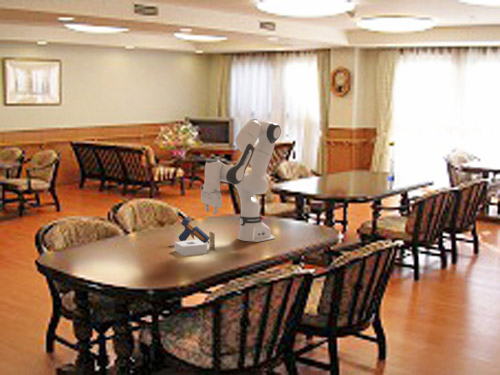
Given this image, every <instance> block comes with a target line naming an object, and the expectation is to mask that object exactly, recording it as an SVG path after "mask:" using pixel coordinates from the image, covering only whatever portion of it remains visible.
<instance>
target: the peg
mask: <svg viewBox="0 0 500 375" xmlns="http://www.w3.org/2000/svg"><path fill="white" fill-rule="evenodd" d="M208 233H209V234H208V235H209V240H208V241H209V243H208V244H209V246H208V248H209V249H208V250H209V251H216V250H215V249H216V248H215V245H216V243H215V241H216V240H215V238H216V237H215V236H216V231H209V232H208Z"/></svg>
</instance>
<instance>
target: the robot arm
mask: <svg viewBox="0 0 500 375" xmlns="http://www.w3.org/2000/svg"><path fill="white" fill-rule="evenodd" d="M281 133H282V129H281V127H280V125H279V123H278V124H277V123H276V122H271V121H268V120H262V119H257V118H253V119H250V120H249V121H247V122H246V123H245V124H244V126H243V127H242V128H241V129H240V130H239V132H238V134H237V135H236V137H235V139H234V143H235V146H236V148H237V150H239V151H240V152H241V154H240V157H239V159H238V161H237V163H236V164H234V165H231V164H230V165H229V164H225V163H224V162H222V161H220V159H219V158H211V159H208V160H206V162H205V165H204V181H203V182H204V183H203V184H202V185H200V202H202V203H203V204H204V209H205V212H208V213H209V212H210V207H213V211H212V215H217V214H218V209H219V208H222V207H223V196H222V194H221V182H224V183H228V184H232V185H234V188H235V189H236V190H237V193H238V196H239V200H240V215H239V230H238V231H239V232H238V236H237V239H238V240H240V241H243V242H245V241H246V242H255V243H257V242H258V243H260V242H263V241H269V240H274V239H275V235H273V234H272V232H271V228H270V227H269V226H268V225H267V224H266V223H264V222H263V221H264V220H266V217H265V216H261V215H260V202H259V200H258V199H257V196H256V195H263V194H265V193H266V192H267V191H268V189H269V182H268V179H267V169H268V167H269V165H270V161H271V159H272V156H273V153H274V150H275V145H276V144H275V143H276V141H278V140H279V138H280V136H281ZM257 141H258V142H257ZM256 143H257V144H256ZM255 144H256V145H255ZM254 146H255V147H254ZM249 165H250V167H251V168H250V173H246V170H247V168H248V166H249Z"/></svg>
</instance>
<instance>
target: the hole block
mask: <svg viewBox="0 0 500 375" xmlns="http://www.w3.org/2000/svg"><path fill="white" fill-rule="evenodd" d="M174 252H176V253H178V254H179V255H181V256H183V257H185V256H194V255H202V253H204V254H208V244H207V243H204V242H202V241H201V240H199V239H191V240H189V239H188V240H186V241H180V240H179V241H174Z"/></svg>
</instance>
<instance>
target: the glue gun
mask: <svg viewBox="0 0 500 375" xmlns="http://www.w3.org/2000/svg"><path fill="white" fill-rule="evenodd" d="M178 219H180V220H181V222H180V225H182V226H183V227H184V230H183V231H182V232H181V233H180V234H179V235H178V240H179V241H187V239H188V238H189V237H190V236H191V238H192V240H195V237H196V238H197V240H200V241H202V242H204V243H205V244H207V243H208V244H209V236H208V234H207V233H205V232H204V231H203V230H202V229H200V228H199V227H198V226H194V227H193V226H192V225H191V224H190V222H191V220H190V219H189V218H188V217H184V218H183V217H182V216H180V215H178Z"/></svg>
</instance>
